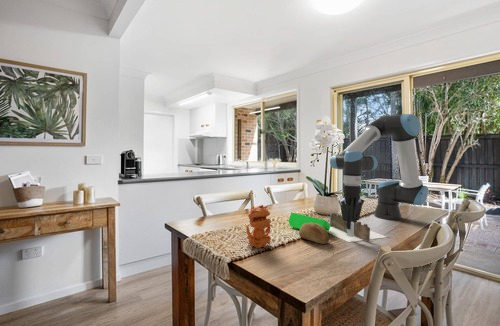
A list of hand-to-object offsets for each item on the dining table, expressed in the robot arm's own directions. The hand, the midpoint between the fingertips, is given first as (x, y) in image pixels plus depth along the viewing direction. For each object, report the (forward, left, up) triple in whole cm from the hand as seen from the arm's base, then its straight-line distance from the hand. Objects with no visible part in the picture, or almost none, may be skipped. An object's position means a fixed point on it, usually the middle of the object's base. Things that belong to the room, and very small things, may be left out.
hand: (350, 235), depth 117 cm
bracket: (+9, -20, -2) cm, 22 cm away
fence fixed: (-6, -16, -2) cm, 17 cm away
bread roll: (+17, -5, -3) cm, 18 cm away
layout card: (-9, -10, -2) cm, 13 cm away
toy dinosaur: (+43, -6, -2) cm, 43 cm away
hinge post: (-6, -9, -2) cm, 11 cm away
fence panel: (-6, -2, -2) cm, 7 cm away
